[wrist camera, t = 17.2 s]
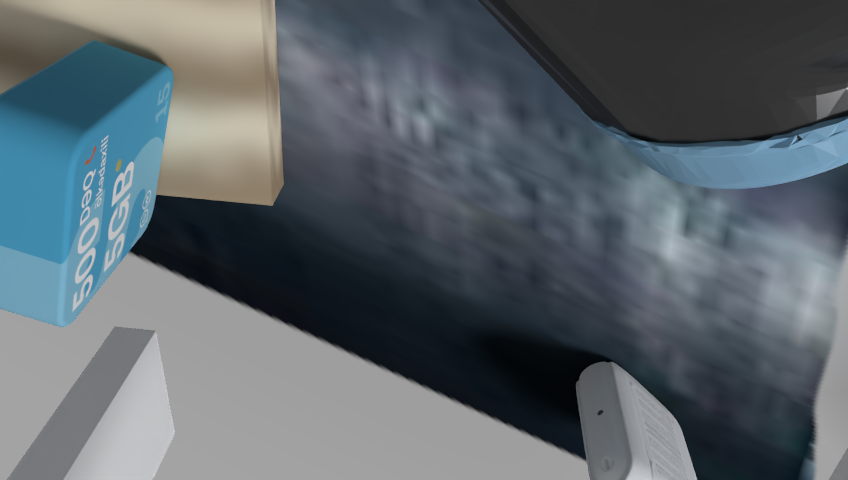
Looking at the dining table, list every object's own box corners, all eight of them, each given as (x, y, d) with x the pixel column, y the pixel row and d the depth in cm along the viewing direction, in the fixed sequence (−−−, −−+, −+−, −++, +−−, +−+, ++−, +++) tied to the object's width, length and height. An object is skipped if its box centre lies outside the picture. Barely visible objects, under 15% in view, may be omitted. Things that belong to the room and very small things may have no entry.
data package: (152, 223, 46) (59, 341, 36) (85, 201, 45) (-29, 315, 35) (178, 59, 39) (74, 145, 29) (100, 31, 39) (-32, 109, 29)
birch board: (-22, -112, 38) (-57, -107, 36) (270, -87, 38) (255, -80, 35) (48, 161, 47) (23, 181, 45) (283, 184, 47) (272, 205, 44)
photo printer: (565, 377, 55) (585, 511, 44) (609, 350, 53) (640, 483, 42) (642, 444, 58) (677, 582, 48) (685, 421, 56) (732, 559, 46)
